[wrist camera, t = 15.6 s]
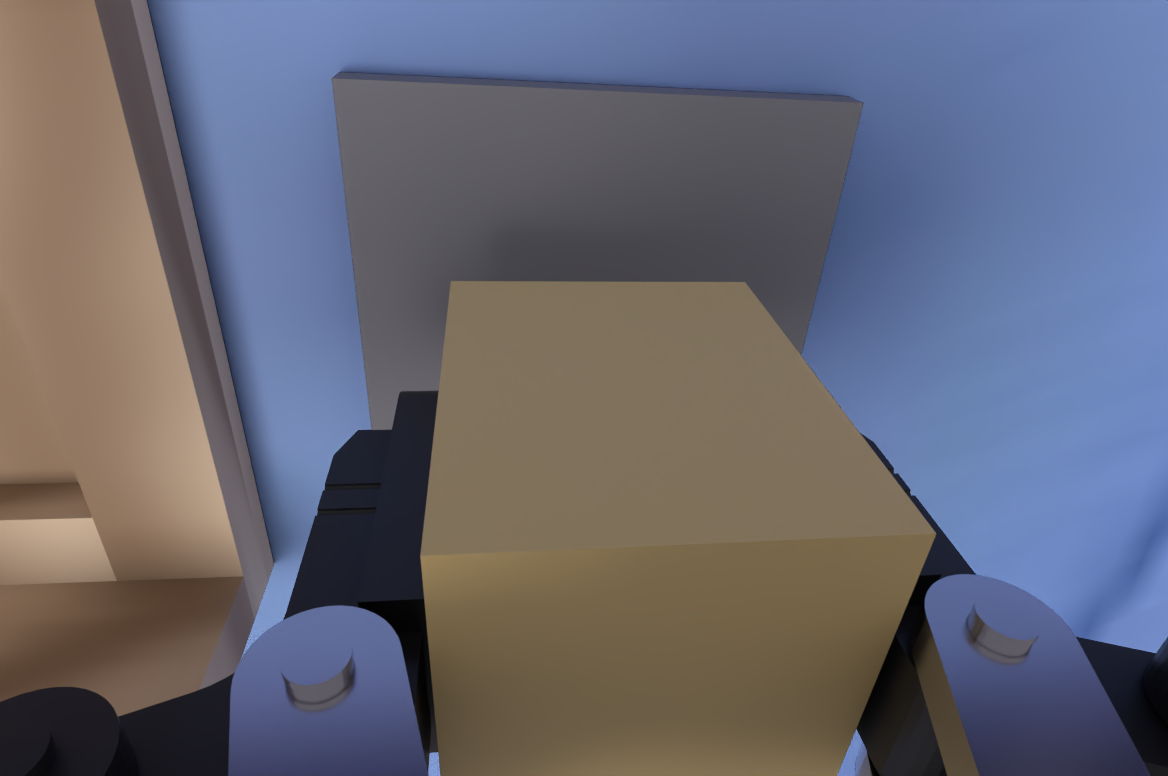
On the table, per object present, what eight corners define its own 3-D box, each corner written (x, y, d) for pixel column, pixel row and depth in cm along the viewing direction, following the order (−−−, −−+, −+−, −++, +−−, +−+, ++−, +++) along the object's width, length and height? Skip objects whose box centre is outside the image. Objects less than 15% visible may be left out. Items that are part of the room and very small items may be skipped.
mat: (847, 96, 12) (863, 102, 11) (756, 481, 16) (765, 499, 15) (339, 72, 11) (332, 78, 10) (384, 490, 15) (380, 509, 14)
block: (744, 281, 10) (936, 533, 6) (704, 504, 12) (822, 809, 8) (450, 281, 9) (420, 555, 5) (462, 513, 11) (447, 844, 7)
